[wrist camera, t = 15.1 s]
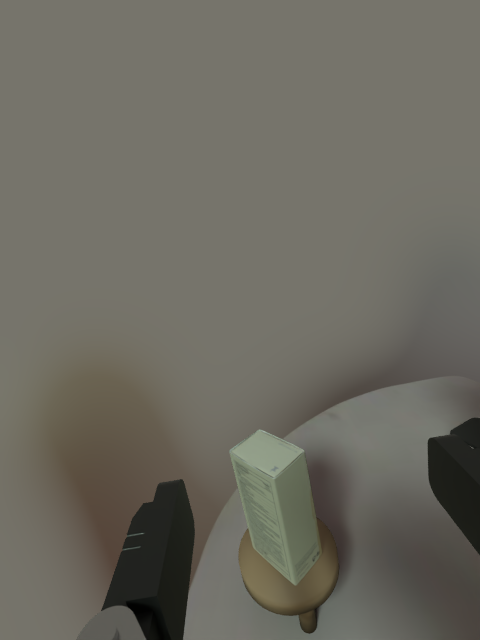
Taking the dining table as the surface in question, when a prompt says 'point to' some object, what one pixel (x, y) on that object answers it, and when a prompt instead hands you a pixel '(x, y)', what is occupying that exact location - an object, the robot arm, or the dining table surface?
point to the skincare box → (278, 503)
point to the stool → (283, 594)
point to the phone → (469, 432)
